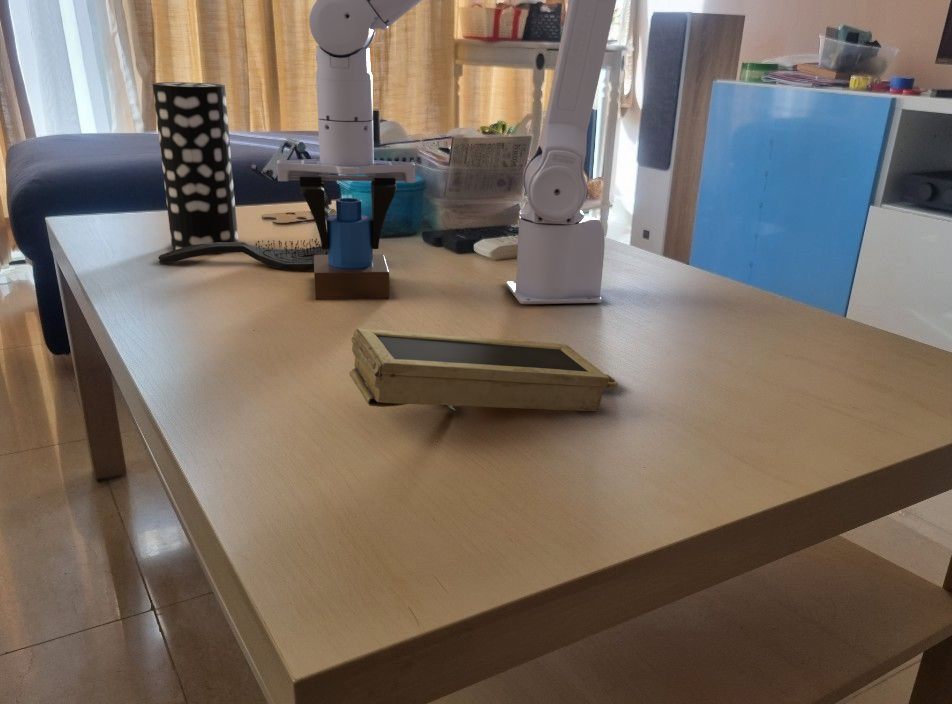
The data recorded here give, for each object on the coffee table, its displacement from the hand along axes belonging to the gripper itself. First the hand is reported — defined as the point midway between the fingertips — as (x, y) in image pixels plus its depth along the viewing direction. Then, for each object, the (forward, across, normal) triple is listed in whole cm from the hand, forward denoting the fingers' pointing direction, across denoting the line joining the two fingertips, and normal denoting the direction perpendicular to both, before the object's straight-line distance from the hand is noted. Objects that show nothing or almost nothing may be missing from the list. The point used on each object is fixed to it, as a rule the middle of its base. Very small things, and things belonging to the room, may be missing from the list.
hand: (349, 247), depth 93 cm
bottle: (+2, 0, 0) cm, 2 cm away
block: (+5, 0, 0) cm, 5 cm away
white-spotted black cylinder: (+5, -18, +21) cm, 28 cm away
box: (+5, +10, -34) cm, 36 cm away
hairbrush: (+5, -10, +12) cm, 16 cm away
